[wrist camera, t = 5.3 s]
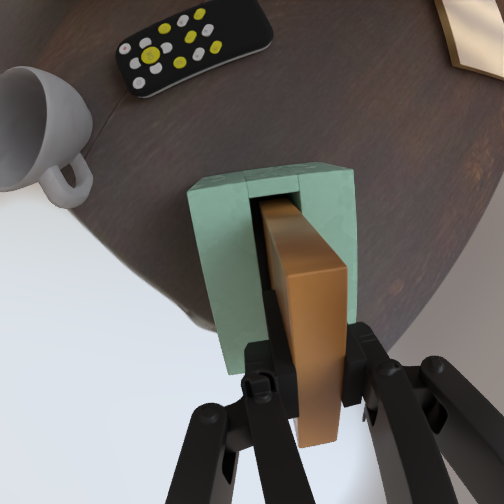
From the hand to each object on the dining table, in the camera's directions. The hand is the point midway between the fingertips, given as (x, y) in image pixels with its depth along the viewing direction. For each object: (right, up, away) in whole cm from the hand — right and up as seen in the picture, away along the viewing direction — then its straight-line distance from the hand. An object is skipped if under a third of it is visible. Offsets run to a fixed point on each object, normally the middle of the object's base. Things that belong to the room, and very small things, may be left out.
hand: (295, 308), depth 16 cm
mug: (-18, +13, +6) cm, 23 cm away
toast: (0, +2, +6) cm, 6 cm away
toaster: (-1, +4, +10) cm, 11 cm away
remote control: (-7, +21, +4) cm, 22 cm away
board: (+24, +30, +2) cm, 38 cm away
